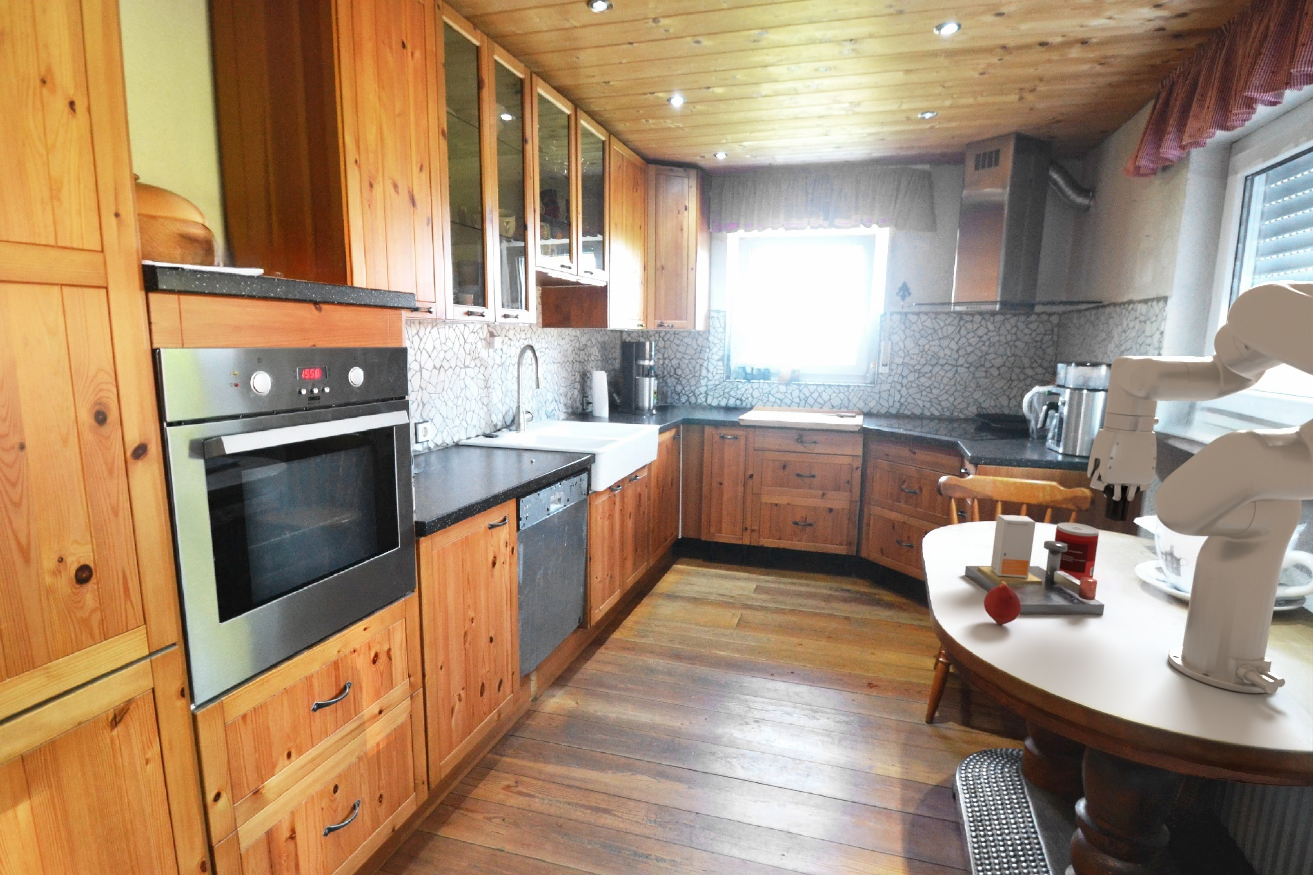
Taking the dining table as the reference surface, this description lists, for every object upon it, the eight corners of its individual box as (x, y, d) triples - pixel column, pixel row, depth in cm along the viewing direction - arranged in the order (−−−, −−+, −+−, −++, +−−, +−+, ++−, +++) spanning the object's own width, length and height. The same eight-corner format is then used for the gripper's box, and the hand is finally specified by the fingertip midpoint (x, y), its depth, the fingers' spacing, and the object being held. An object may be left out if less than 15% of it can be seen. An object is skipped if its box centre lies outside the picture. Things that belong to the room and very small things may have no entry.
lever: (1051, 580, 131) (1053, 563, 130) (1063, 580, 131) (1065, 563, 130) (1084, 600, 121) (1086, 582, 120) (1098, 600, 121) (1100, 582, 120)
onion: (1014, 619, 119) (1018, 578, 118) (1022, 633, 114) (1027, 590, 112) (979, 615, 121) (983, 574, 119) (985, 629, 115) (990, 585, 114)
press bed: (1103, 614, 122) (1110, 563, 120) (1019, 614, 121) (1025, 563, 120) (1037, 574, 142) (1042, 530, 140) (964, 574, 141) (969, 530, 139)
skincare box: (997, 576, 133) (1004, 519, 131) (990, 569, 137) (996, 514, 135) (1029, 578, 132) (1036, 521, 130) (1021, 571, 137) (1027, 515, 135)
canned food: (1080, 571, 145) (1086, 523, 143) (1100, 584, 137) (1107, 534, 135) (1043, 569, 145) (1049, 521, 144) (1062, 582, 138) (1068, 532, 136)
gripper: (1151, 421, 125) (1138, 514, 128) (1075, 420, 124) (1063, 513, 127) (1184, 427, 118) (1169, 525, 121) (1103, 426, 117) (1090, 525, 120)
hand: (1115, 519), depth 124 cm, fingers closed
